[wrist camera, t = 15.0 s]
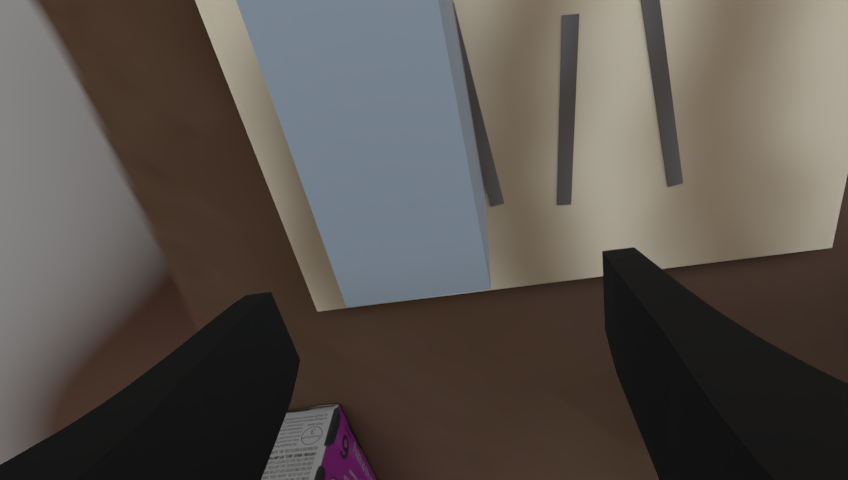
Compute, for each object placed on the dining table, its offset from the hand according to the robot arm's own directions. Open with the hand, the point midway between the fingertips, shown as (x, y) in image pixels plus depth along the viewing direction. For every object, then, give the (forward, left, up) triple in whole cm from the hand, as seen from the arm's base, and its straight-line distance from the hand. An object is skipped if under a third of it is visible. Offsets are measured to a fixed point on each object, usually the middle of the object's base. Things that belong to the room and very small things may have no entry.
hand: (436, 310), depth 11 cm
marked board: (-3, -1, -9) cm, 10 cm away
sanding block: (+1, -3, -8) cm, 9 cm away
